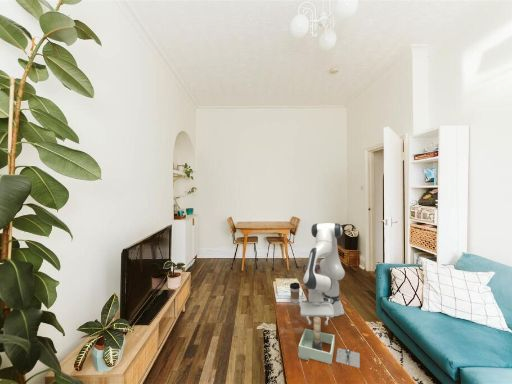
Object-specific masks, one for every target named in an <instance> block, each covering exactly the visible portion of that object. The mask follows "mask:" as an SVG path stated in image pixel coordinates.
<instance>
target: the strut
mask: <svg viewBox="0 0 512 384" xmlns="http://www.w3.org/2000/svg"><path fill="white" fill-rule="evenodd" d="M321 322H322V319H321V317H313V330H314V339H313V342H312V348H313V349H317V350H321V351H323V342H322V340H321V332H322V331H321V330H322V328H321V325H322V323H321Z"/></svg>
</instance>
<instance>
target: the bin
mask: <svg viewBox="0 0 512 384" xmlns="http://www.w3.org/2000/svg"><path fill="white" fill-rule="evenodd" d="M335 337H336V335H335V334H331V333H328V332H327V333H326V332H322V331H321V340H322V343H326V344H328V345H330V351H329V352H328V351H324V350H322V351H321V350H317V349H313V348H312V342H313V339H314V329H310V328H309V329H308V328H304V330H303V333H302V335H301V338H300V341H299V343H298V359H301V360H304V361H305V360H306V361H309V360H310V359H311V360H313V361H318V362H322V363H326V364H329V365H332V362H333V357H334V350H335V341H336V339H335Z"/></svg>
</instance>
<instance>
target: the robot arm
mask: <svg viewBox="0 0 512 384" xmlns="http://www.w3.org/2000/svg"><path fill="white" fill-rule="evenodd" d="M310 229H311V230H310V233H311V236H312V237H314V238H315V245H314V247H313V248H311V249H310V253H309V255H308V260H307V263H306V264H307V266H306V268H305V274H304V273H303V278H302V282H303V285H304V287H305V288H306V289H307V291H308V295H307V296H308V300H307V299H306V300H300V301H299V302H298V303H299V308H300V316H301V317H306V320H307V321H308V325H311V326H312V320H310V317H311V318H314V317H319V318H325V319H326V320H325V321H324V326H328V325H329V323H328V321H329V319H330V318H334V317H339V316H343V315H345V310H344V306H343V303H342V301H341V294H340V283H339V281H341V280H343V279H344V277H345V275H346V272H345V269H344V268H343V265H342V262H341V259H340V256H339V251H338V239H339V238H341V237H342V235H343V228H342V225H341V224H340V223H336V222H335V223H334V222H326V223H324V222H322V223H314V224H313V225H311V228H310ZM319 258H322V259H321V260H320V262H319V264H320V268H321V271H322V275H320V274H316V273H315V266H316V263H317V261H318V259H319Z"/></svg>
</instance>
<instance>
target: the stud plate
mask: <svg viewBox="0 0 512 384" xmlns="http://www.w3.org/2000/svg"><path fill="white" fill-rule="evenodd" d="M360 356H361V355H360V352H358V351H357V352H356V351H352V350H350V348H346V349H344V348H341V347H340V348H339V347H337V352H336V358H335V362H337V363H340V364H344V365H348V366H351V367H354V368H359V369H360V366H361V365H360V364H361V363H360V362H361V361H360V360H361V359H360Z"/></svg>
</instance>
